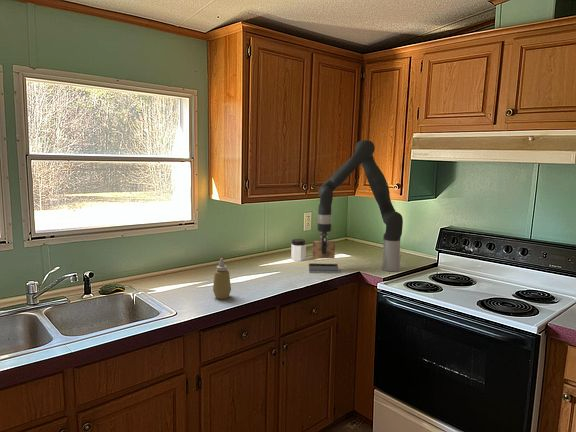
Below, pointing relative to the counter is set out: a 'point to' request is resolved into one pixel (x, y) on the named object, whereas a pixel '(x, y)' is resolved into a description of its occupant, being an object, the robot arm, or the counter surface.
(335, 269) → the floor track
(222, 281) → the squeeze bottle
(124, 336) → the counter surface
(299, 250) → the jar
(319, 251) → the door panel
